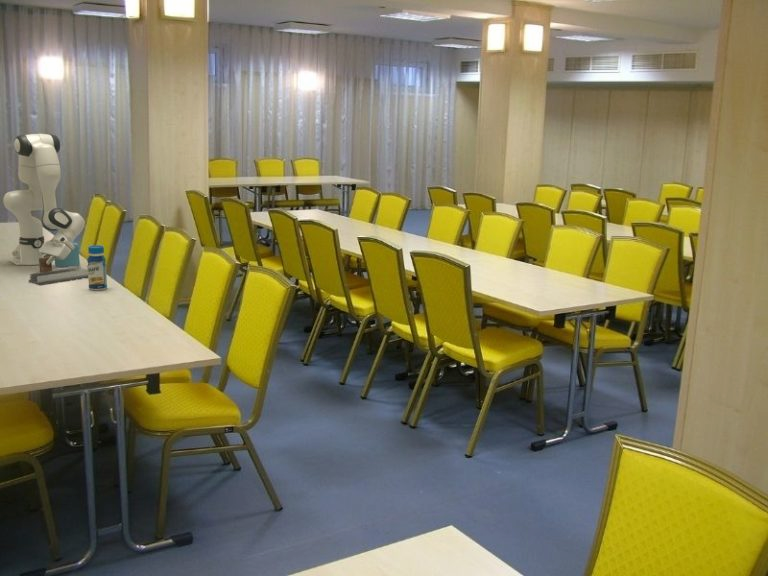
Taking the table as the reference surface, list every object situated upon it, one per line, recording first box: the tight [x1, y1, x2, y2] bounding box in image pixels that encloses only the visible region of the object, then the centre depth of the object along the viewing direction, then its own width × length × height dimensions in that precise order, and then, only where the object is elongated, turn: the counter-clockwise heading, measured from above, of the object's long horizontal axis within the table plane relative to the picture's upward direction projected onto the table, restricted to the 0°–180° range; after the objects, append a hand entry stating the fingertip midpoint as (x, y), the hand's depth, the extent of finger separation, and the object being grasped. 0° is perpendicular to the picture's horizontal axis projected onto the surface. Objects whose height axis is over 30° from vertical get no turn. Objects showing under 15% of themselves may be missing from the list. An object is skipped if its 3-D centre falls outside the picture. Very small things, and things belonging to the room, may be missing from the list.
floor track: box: [28, 266, 88, 286], centre depth 403 cm, size 11×26×4 cm, turn 140°
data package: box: [54, 242, 81, 268], centre depth 435 cm, size 12×4×12 cm, turn 113°
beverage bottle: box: [86, 244, 108, 291], centre depth 384 cm, size 8×8×20 cm
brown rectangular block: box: [38, 257, 53, 273], centre depth 410 cm, size 3×5×9 cm, turn 140°
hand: (44, 263), depth 410 cm, fingers closed on brown rectangular block, 3 cm apart
